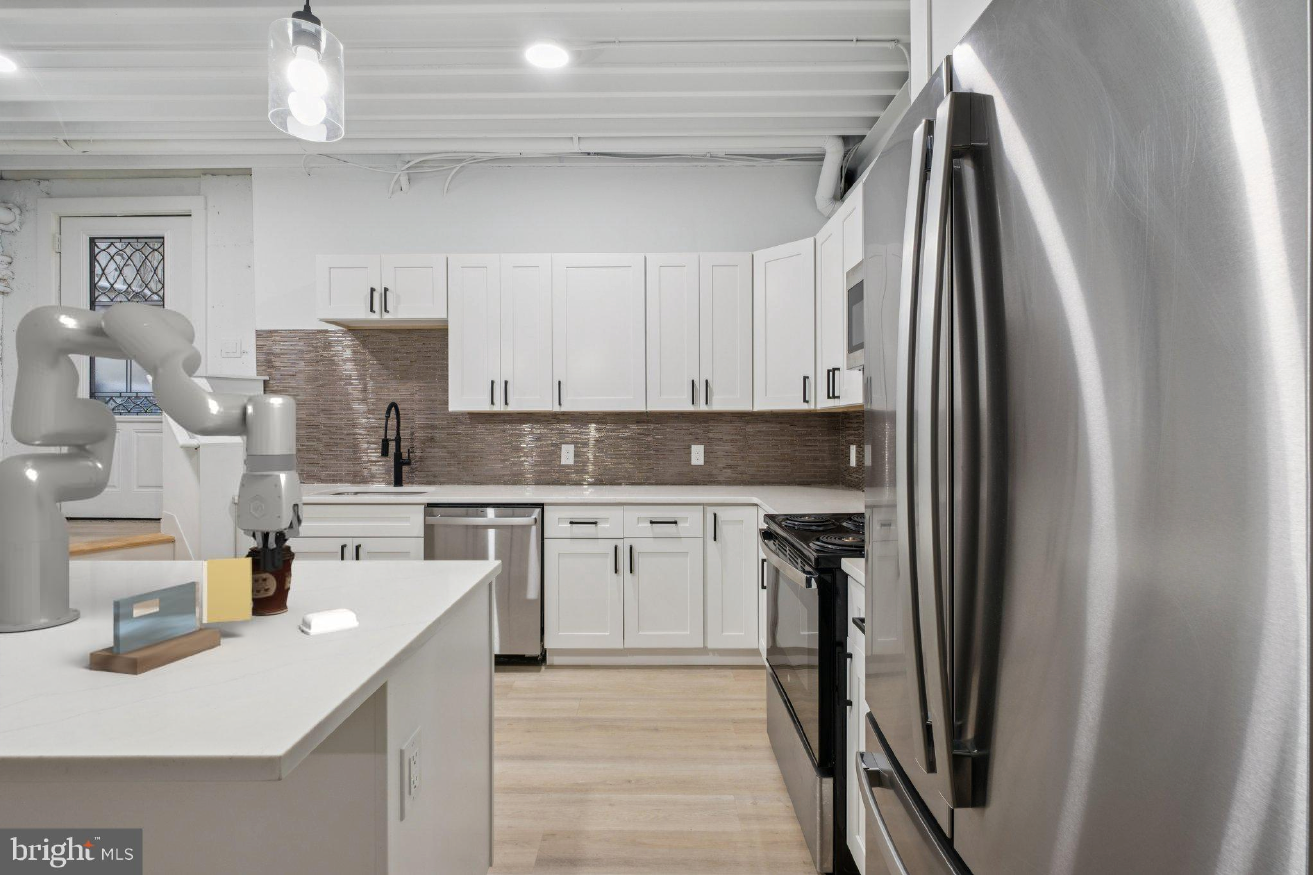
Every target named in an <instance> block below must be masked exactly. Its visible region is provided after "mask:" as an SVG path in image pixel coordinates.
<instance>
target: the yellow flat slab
mask: <svg viewBox="0 0 1313 875" xmlns="http://www.w3.org/2000/svg"><path fill="white" fill-rule="evenodd" d="M201 563H202V564H201V566H202V570H201V571H202V572H201V573H202V574H201V575H202V576H201V577H202V578H201V579H202V580H201V583H202V591H201V593H202V594H201V596H202V598H201V600H202V606H201V608H202V620H201V621H202V624H208V623H209V624H211V623H223V622H234V621H235V622H236V621H237V622H238V621H247V620H249V621H250V620H251V619H252V617H253V616H252V615H253V614H252V607H253V602H252V557H250V558H245V557H235V558H234V557H233V558H230V557H229V558H215V559H203V560H202V562H201Z"/></svg>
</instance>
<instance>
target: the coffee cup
mask: <svg viewBox="0 0 1313 875" xmlns="http://www.w3.org/2000/svg"><path fill="white" fill-rule="evenodd" d="M291 548H292V546H291V545H289V544H288V545H287V544H286V545H285V546H283V566H282V568H281V569H278V570H274V571H271V572H267V571H261V570H260V549H261V548H258V547H257V546H253V547H249V548H248V552H247V554H246V555H245V556H244V558H250V557H252V615H257V616H258V615H259V616H260V615H261V616H262V615H263V616H264V615H267V616H268V615H277V614H282V613H285V612H287V611H289V607H288V605H287V602H288V598H289V592H290V590H291V583H292V582H291V581H292V577H293V575H292V565H293V562H294V559H295V556H296V552H294V551H292V549H291Z"/></svg>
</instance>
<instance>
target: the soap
mask: <svg viewBox="0 0 1313 875" xmlns="http://www.w3.org/2000/svg"><path fill="white" fill-rule="evenodd" d="M301 620H302V622H301V623H300V625H299V630H300V631H301V632H303V634H305V635H307V636H314V635H315V636H316V635H320V634H321V635H322V634H326V633H332V632H337V631H342V630H349V629H353V628H357V627H359V624H360V622H359V621H357V616H356V614H355V613H354V612H353V611H351V609H350V610H349V609H348V608H339V609H338V608H337V609H332V610H331V609H330V610H325V611H319V612H314V613H310V614H305V615H304V616H303V617H302V619H301Z"/></svg>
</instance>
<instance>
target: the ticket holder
mask: <svg viewBox="0 0 1313 875" xmlns="http://www.w3.org/2000/svg"><path fill="white" fill-rule="evenodd" d="M112 606H113V608H112V609H113V610H112V612H113V614H112V616H113V619H112V620H113V621H112V622H113V623H112V624H113V625H112V626H113V634H112V635H113V645H112V646H108V647H104V648H102V649H98V650H95V651H91V652H89V671H90V670H92V671H101V672H109V673H118V674H126V675H134V676H135V675H140V674H143V673H146V672H150V671H151V670H155V669H157V668H160V667H164V666H166V665H169V664H172V663H174V662H177V661H180V660H183V659H186V658H188V657H191V656H195V655H197V654H200V653H202V652H206V651H207V650H210V649H213V648H216V647H219V646H221V642H222V641H221V635H222V634H221V630H220V629H211V628H210V629H209V628H208V629H207V628H200V582H199V581H190V582H186V583H182V584H178V585H174V586H170V587H165V588H162V589H157V590H152V591H148V592H145V593H144V592H143V593H140V594H136V595H132V596H127V597H122V598H118V599H114V600H113V603H112Z"/></svg>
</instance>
